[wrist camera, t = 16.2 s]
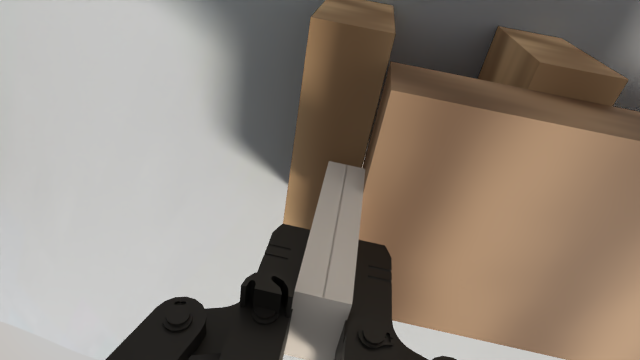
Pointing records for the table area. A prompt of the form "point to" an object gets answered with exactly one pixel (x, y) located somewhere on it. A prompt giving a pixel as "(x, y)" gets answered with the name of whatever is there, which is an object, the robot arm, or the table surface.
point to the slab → (507, 213)
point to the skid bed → (368, 75)
